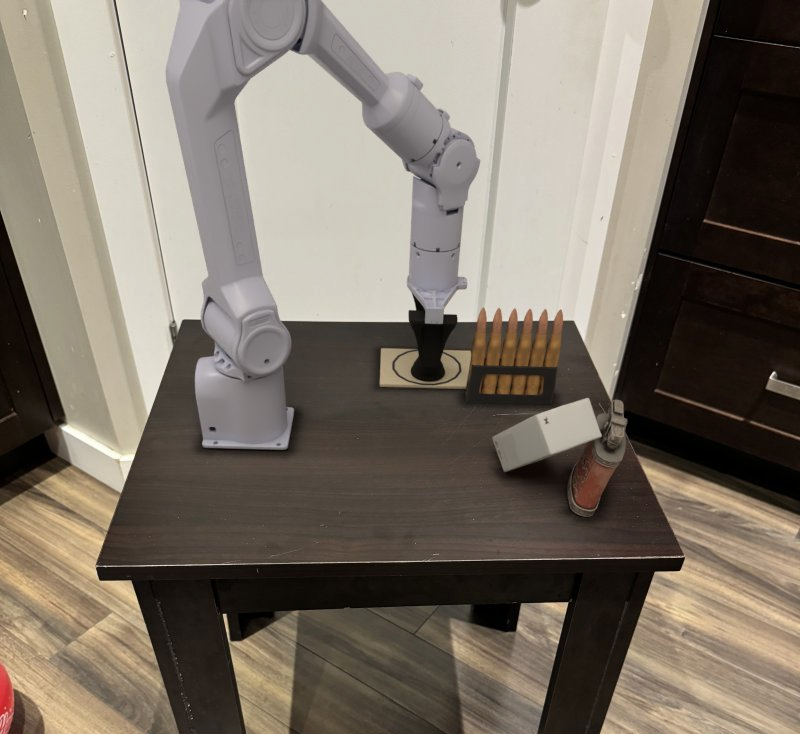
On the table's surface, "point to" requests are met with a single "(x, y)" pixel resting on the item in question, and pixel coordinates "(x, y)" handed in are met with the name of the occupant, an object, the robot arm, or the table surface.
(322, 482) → the table surface
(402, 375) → the drawing pad
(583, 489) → the lighter
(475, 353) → the ammunition clip
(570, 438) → the cosmetic box
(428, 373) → the chess piece
